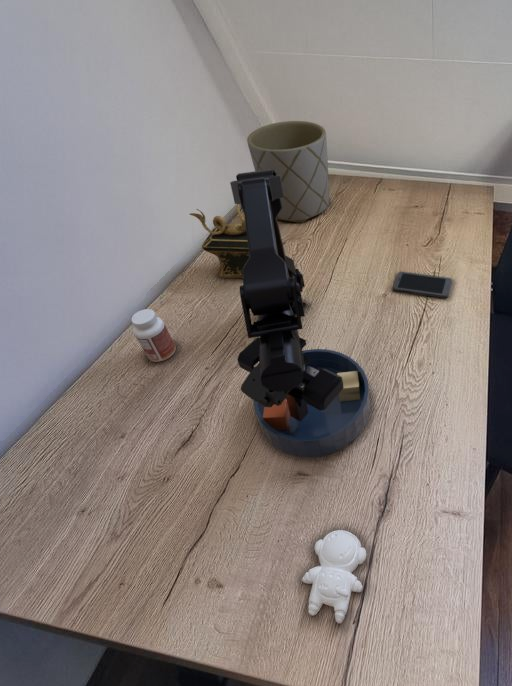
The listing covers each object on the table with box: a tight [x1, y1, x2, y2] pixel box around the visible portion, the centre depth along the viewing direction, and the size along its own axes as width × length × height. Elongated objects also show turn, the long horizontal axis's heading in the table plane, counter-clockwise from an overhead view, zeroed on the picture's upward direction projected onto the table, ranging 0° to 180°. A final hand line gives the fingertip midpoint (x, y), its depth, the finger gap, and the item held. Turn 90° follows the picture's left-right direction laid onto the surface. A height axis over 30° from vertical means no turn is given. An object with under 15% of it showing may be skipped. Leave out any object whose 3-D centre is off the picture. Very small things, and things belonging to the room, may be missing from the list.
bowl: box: [253, 348, 371, 459], centre depth 86 cm, size 21×21×6 cm
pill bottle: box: [131, 308, 176, 363], centre depth 98 cm, size 6×6×11 cm
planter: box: [246, 120, 330, 224], centre depth 139 cm, size 23×23×24 cm
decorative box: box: [188, 204, 249, 279], centre depth 117 cm, size 20×10×20 cm, turn 83°
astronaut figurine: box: [301, 529, 367, 624], centre depth 65 cm, size 9×12×3 cm
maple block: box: [337, 371, 360, 402], centre depth 89 cm, size 4×4×4 cm
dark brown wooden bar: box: [286, 390, 308, 422], centre depth 80 cm, size 2×2×11 cm
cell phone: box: [392, 271, 453, 299], centre depth 114 cm, size 7×14×1 cm, turn 74°
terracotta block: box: [263, 399, 290, 430], centre depth 84 cm, size 4×4×4 cm
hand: (296, 401), depth 81 cm, fingers closed on dark brown wooden bar, 2 cm apart
